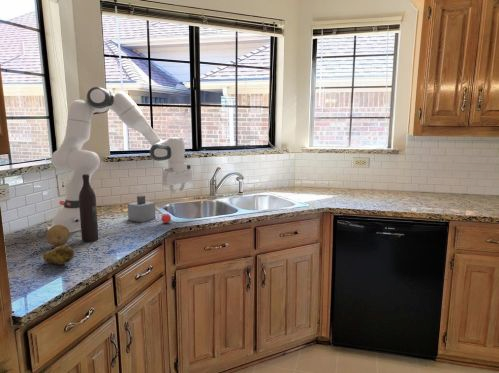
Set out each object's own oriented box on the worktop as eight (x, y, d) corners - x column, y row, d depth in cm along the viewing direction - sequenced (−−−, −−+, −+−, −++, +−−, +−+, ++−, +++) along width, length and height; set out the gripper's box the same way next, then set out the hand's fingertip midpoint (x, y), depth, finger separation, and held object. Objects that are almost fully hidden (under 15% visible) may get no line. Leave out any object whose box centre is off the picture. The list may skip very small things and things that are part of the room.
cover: (141, 222, 200) (140, 198, 198) (128, 219, 205) (127, 196, 203) (155, 218, 208) (154, 195, 206) (142, 215, 214) (141, 193, 211)
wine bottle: (96, 241, 168) (92, 175, 163) (79, 242, 167) (74, 176, 162) (100, 236, 175) (95, 173, 170) (84, 237, 174) (79, 173, 168)
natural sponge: (61, 252, 155) (59, 228, 153) (41, 250, 157) (39, 227, 155) (74, 244, 164) (73, 222, 162) (56, 243, 165) (54, 221, 164)
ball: (166, 224, 196) (166, 215, 195) (159, 223, 198) (159, 214, 197) (173, 222, 200) (172, 213, 199) (166, 221, 202) (165, 212, 202)
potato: (64, 257, 149) (62, 238, 148) (78, 266, 141) (76, 246, 139) (41, 263, 143) (39, 243, 142) (54, 272, 135) (52, 251, 133)
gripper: (167, 169, 192) (168, 196, 194) (193, 165, 209) (193, 189, 211) (158, 168, 195) (159, 194, 197) (184, 164, 212) (185, 188, 215)
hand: (177, 192), depth 204 cm, fingers open, 5 cm apart
